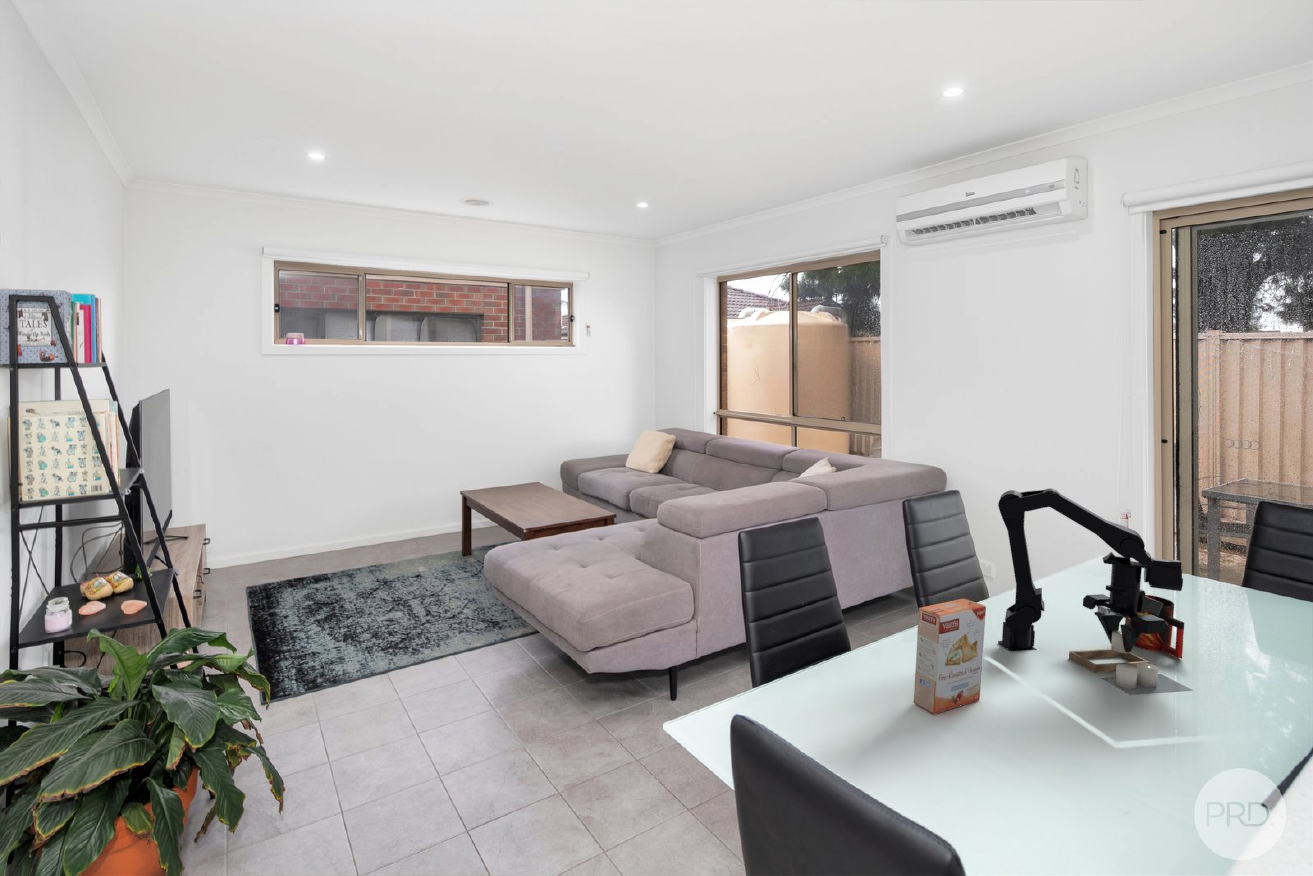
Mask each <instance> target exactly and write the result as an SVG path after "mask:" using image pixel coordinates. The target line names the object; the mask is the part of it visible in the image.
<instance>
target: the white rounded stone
mask: <svg viewBox="0 0 1313 876" xmlns="http://www.w3.org/2000/svg"><path fill="white" fill-rule="evenodd" d="M1137 672H1138V669H1137V668H1135V667H1133V666H1130V665H1126V664H1117V666H1116V672H1115V677H1116V680H1115V684H1116V685H1117V686H1119V687H1122V688H1125V689H1136V685H1137Z"/></svg>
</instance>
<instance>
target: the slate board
mask: <svg viewBox="0 0 1313 876" xmlns="http://www.w3.org/2000/svg"><path fill="white" fill-rule="evenodd" d="M1101 679H1102V680H1104V681H1105V682H1107V683H1109V684H1111V685H1113V686H1114V687H1115V688H1118V689H1120V690H1121V691H1123V692H1124V693H1125V694H1128V695H1129V696H1134V695H1149V694H1160V693H1174V692H1175V693H1176V692H1190V691H1193V689H1191V688H1189V687H1188V686H1186V685H1184V684H1181V683H1180V682H1178V681H1176V680H1174V679H1172V678H1169V677H1168V676H1166V675H1164V674H1162V673H1158V678H1157V687H1156V688H1148V687H1144V686H1141V685H1139V684H1137V685H1136V689H1125V688H1122V687H1119V686H1117V685H1116V684H1115V680H1116V676H1110V677H1109V676H1108V677H1101Z"/></svg>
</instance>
